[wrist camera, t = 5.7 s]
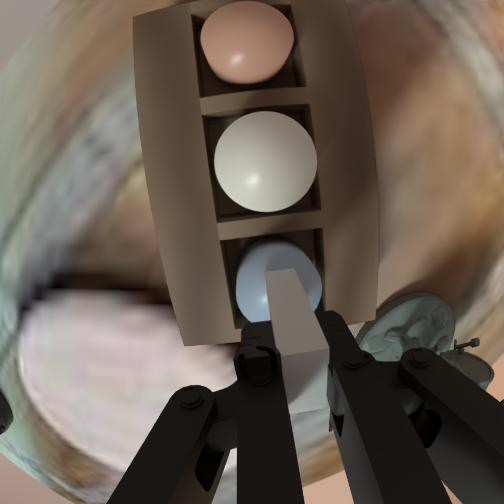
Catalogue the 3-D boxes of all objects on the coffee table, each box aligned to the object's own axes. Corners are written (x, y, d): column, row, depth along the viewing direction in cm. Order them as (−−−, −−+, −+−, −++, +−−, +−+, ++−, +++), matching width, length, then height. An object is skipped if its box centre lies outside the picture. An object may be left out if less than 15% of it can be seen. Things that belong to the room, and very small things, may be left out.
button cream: (225, 207, 15) (221, 218, 12) (215, 126, 14) (208, 118, 11) (307, 197, 15) (321, 205, 12) (297, 117, 14) (310, 107, 11)
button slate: (242, 308, 18) (242, 334, 15) (232, 241, 17) (229, 258, 14) (311, 298, 18) (322, 323, 15) (307, 231, 17) (320, 246, 14)
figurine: (373, 284, 20) (469, 392, 8) (465, 296, 21) (549, 366, 9) (332, 390, 23) (369, 502, 12) (421, 386, 24) (472, 467, 12)
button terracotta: (212, 93, 14) (205, 79, 11) (204, 30, 13) (197, 7, 10) (290, 85, 14) (300, 69, 11) (279, 22, 13) (285, -1, 10)
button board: (192, 318, 20) (184, 346, 17) (150, 37, 14) (132, 16, 11) (357, 296, 20) (375, 319, 17) (328, 19, 14) (343, -4, 11)
